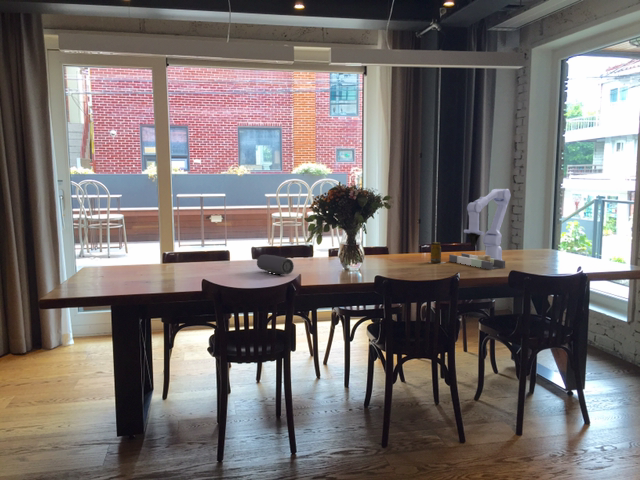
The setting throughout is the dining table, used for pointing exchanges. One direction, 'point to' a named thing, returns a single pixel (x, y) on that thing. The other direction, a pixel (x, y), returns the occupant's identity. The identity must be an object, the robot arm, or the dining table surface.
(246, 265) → the dining table surface
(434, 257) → the condiment
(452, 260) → the trap box
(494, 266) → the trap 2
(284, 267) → the bluetooth speaker
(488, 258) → the maple block
